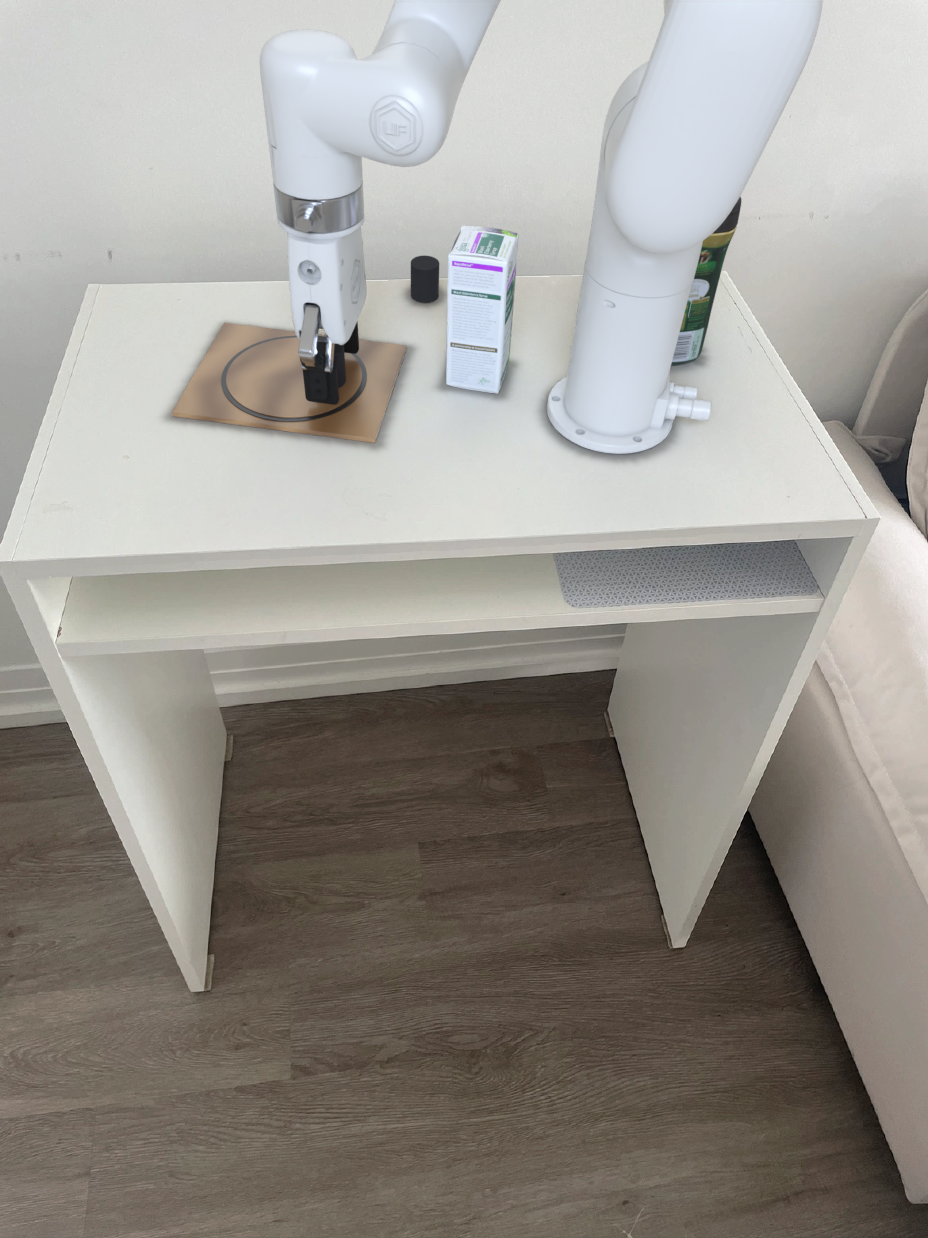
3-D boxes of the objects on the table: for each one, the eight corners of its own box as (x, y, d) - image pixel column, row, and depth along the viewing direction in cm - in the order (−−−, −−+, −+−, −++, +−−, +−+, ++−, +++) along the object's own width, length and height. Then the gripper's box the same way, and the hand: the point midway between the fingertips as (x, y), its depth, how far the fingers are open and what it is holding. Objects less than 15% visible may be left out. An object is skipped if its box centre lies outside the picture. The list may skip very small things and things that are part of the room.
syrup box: (499, 395, 92) (511, 260, 81) (443, 386, 93) (447, 251, 82) (509, 363, 96) (522, 230, 85) (454, 355, 97) (460, 221, 85)
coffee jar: (614, 320, 102) (647, 149, 88) (681, 318, 103) (725, 148, 89) (636, 371, 96) (675, 196, 82) (707, 368, 97) (759, 194, 83)
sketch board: (406, 349, 97) (406, 343, 96) (375, 443, 87) (374, 437, 86) (224, 326, 98) (223, 320, 98) (172, 416, 88) (170, 410, 87)
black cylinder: (440, 289, 105) (441, 257, 102) (436, 304, 103) (436, 271, 100) (413, 286, 105) (413, 253, 102) (408, 301, 103) (408, 267, 100)
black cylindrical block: (349, 373, 92) (347, 338, 89) (341, 391, 90) (339, 356, 87) (318, 369, 93) (315, 334, 90) (310, 387, 91) (307, 352, 88)
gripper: (338, 257, 72) (350, 433, 85) (383, 163, 83) (387, 332, 96) (246, 246, 72) (272, 423, 86) (303, 154, 84) (318, 323, 97)
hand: (333, 374), depth 91 cm, fingers open, 8 cm apart
